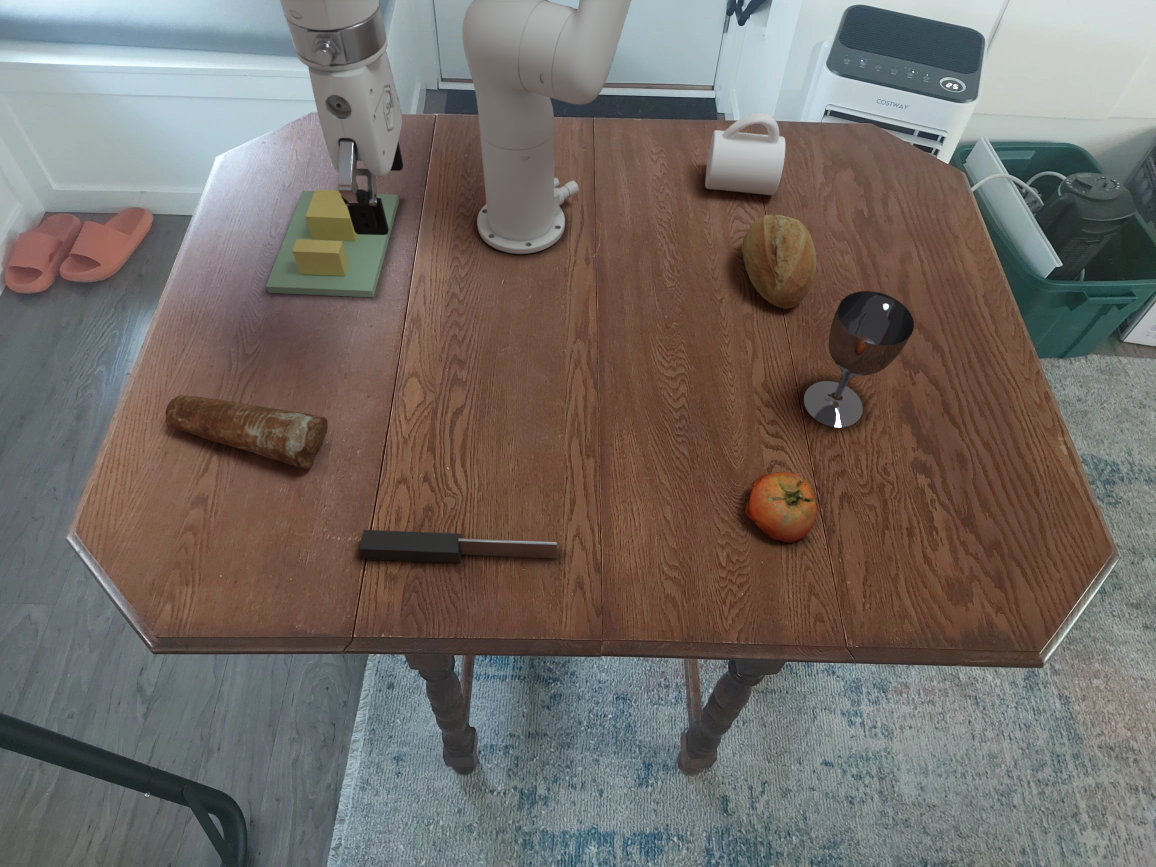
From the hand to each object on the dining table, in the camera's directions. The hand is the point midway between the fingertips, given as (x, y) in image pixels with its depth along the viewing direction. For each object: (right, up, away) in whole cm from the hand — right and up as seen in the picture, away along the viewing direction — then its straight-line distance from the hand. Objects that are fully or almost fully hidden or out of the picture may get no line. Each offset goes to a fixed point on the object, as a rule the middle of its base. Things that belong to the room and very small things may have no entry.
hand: (380, 199), depth 76 cm
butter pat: (-14, -1, +26) cm, 29 cm away
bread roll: (+47, -2, +29) cm, 55 cm away
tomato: (+42, -32, +7) cm, 53 cm away
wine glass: (+51, -20, +16) cm, 57 cm away
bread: (-18, -25, +11) cm, 32 cm away
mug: (+45, +14, +40) cm, 62 cm away
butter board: (-14, +3, +30) cm, 33 cm away
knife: (+8, -36, +3) cm, 37 cm away
